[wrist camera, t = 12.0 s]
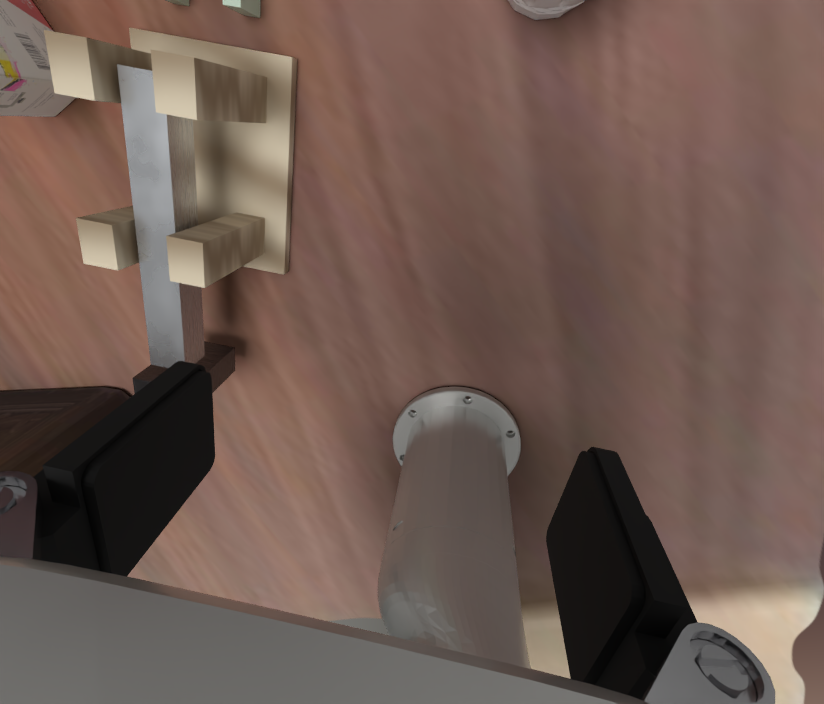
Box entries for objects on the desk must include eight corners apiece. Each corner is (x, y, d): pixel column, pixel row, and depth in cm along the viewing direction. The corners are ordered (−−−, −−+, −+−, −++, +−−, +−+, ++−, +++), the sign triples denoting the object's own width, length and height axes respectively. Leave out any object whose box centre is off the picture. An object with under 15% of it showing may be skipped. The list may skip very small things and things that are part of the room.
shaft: (235, 370, 42) (189, 415, 35) (189, 360, 42) (136, 404, 35) (230, 85, 32) (165, 73, 25) (170, 74, 32) (89, 59, 25)
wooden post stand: (288, 271, 40) (231, 314, 30) (158, 245, 40) (62, 279, 31) (297, 59, 32) (225, 29, 23) (138, 30, 33) (5, -11, 24)
